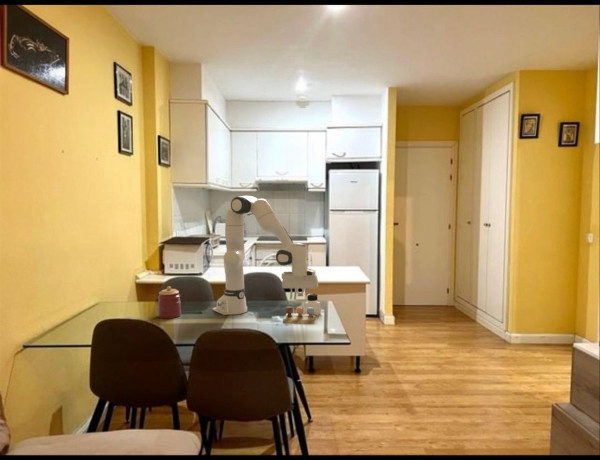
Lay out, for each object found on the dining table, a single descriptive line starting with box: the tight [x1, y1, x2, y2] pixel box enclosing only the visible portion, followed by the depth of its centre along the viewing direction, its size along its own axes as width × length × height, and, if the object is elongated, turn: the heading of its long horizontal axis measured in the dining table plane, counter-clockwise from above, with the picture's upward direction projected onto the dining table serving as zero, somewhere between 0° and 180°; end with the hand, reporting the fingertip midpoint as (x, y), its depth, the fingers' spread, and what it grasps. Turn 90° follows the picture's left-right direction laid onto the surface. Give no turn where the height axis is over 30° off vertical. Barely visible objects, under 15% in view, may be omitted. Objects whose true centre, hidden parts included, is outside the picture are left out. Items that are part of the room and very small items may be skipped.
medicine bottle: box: [303, 293, 322, 316], centre depth 235 cm, size 7×7×12 cm
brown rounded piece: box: [285, 305, 294, 317], centre depth 224 cm, size 4×4×5 cm
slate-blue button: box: [307, 307, 314, 317], centre depth 222 cm, size 4×4×5 cm
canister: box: [157, 285, 182, 320], centre depth 234 cm, size 13×13×18 cm
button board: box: [282, 312, 317, 324], centre depth 224 cm, size 17×12×2 cm
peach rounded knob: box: [295, 306, 304, 317], centre depth 223 cm, size 4×4×5 cm
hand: (300, 296), depth 223 cm, fingers closed
